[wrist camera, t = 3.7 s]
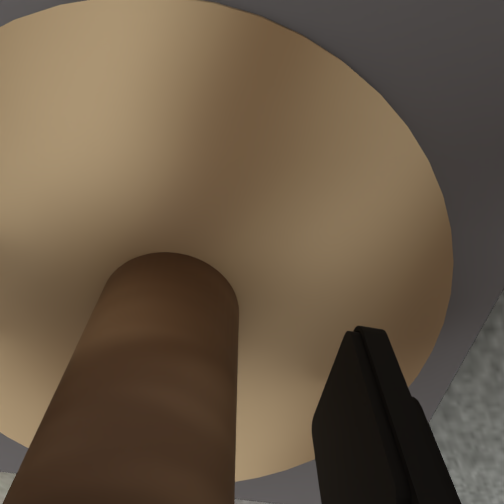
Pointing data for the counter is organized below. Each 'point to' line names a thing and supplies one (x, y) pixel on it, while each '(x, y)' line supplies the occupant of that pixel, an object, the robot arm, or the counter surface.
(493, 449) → the counter surface
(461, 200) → the mat
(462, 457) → the counter surface
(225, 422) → the lid
